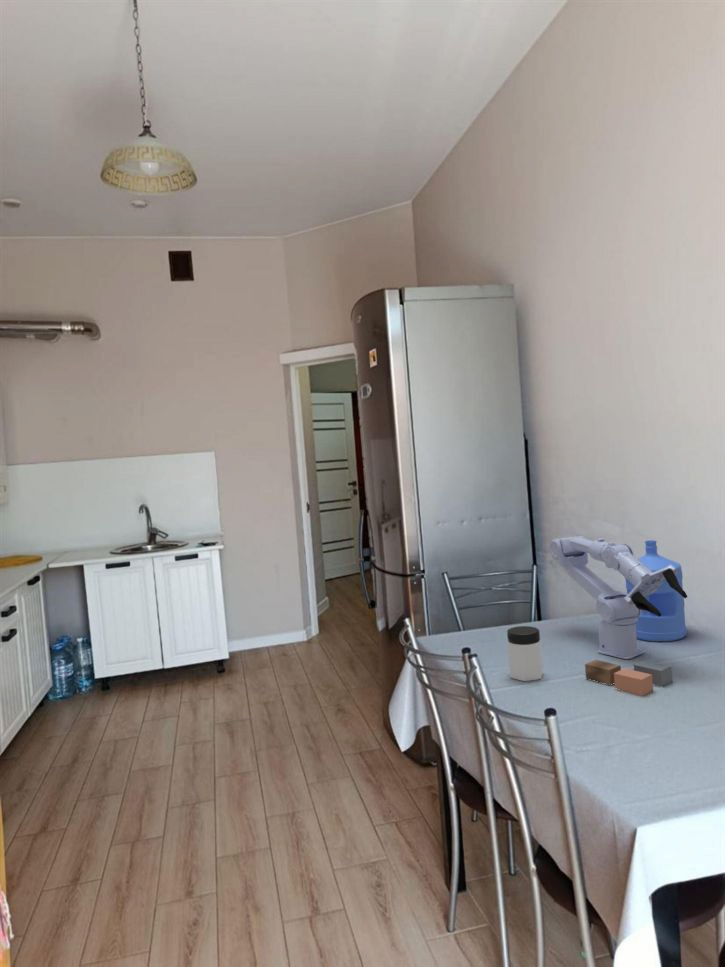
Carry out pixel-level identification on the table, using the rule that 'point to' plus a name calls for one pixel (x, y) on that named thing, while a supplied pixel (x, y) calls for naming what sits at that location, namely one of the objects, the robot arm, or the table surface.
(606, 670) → the walnut block
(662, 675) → the grey block
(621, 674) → the terracotta block
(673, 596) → the water jug
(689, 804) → the table surface
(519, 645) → the jar
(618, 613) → the robot arm
